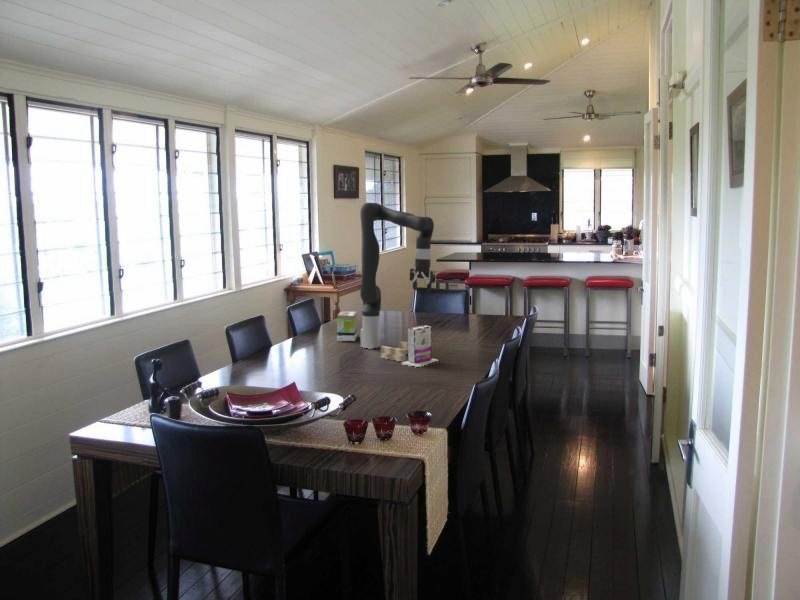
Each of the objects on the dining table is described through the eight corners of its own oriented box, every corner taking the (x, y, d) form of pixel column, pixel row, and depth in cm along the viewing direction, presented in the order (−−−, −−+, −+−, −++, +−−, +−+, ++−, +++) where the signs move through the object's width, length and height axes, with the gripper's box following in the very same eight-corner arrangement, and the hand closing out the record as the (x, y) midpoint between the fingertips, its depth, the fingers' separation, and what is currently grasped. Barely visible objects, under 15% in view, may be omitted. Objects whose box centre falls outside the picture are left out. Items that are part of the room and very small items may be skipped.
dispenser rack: (380, 358, 334) (380, 346, 333) (400, 352, 346) (400, 341, 345) (403, 362, 325) (404, 350, 324) (423, 356, 337) (423, 345, 336)
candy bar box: (424, 358, 329) (424, 324, 327) (431, 360, 325) (432, 326, 323) (407, 361, 322) (407, 327, 320) (414, 363, 318) (414, 329, 316)
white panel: (401, 364, 320) (401, 362, 320) (421, 358, 333) (421, 356, 333) (418, 367, 314) (418, 365, 314) (438, 361, 327) (438, 359, 327)
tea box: (355, 342, 373) (354, 315, 371) (336, 341, 373) (336, 315, 371) (357, 336, 388) (357, 310, 385) (339, 336, 388) (339, 310, 386)
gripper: (406, 257, 336) (405, 289, 338) (429, 259, 327) (428, 292, 329) (416, 256, 341) (415, 288, 344) (439, 258, 332) (438, 291, 335)
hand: (421, 290), depth 336 cm, fingers open, 8 cm apart
